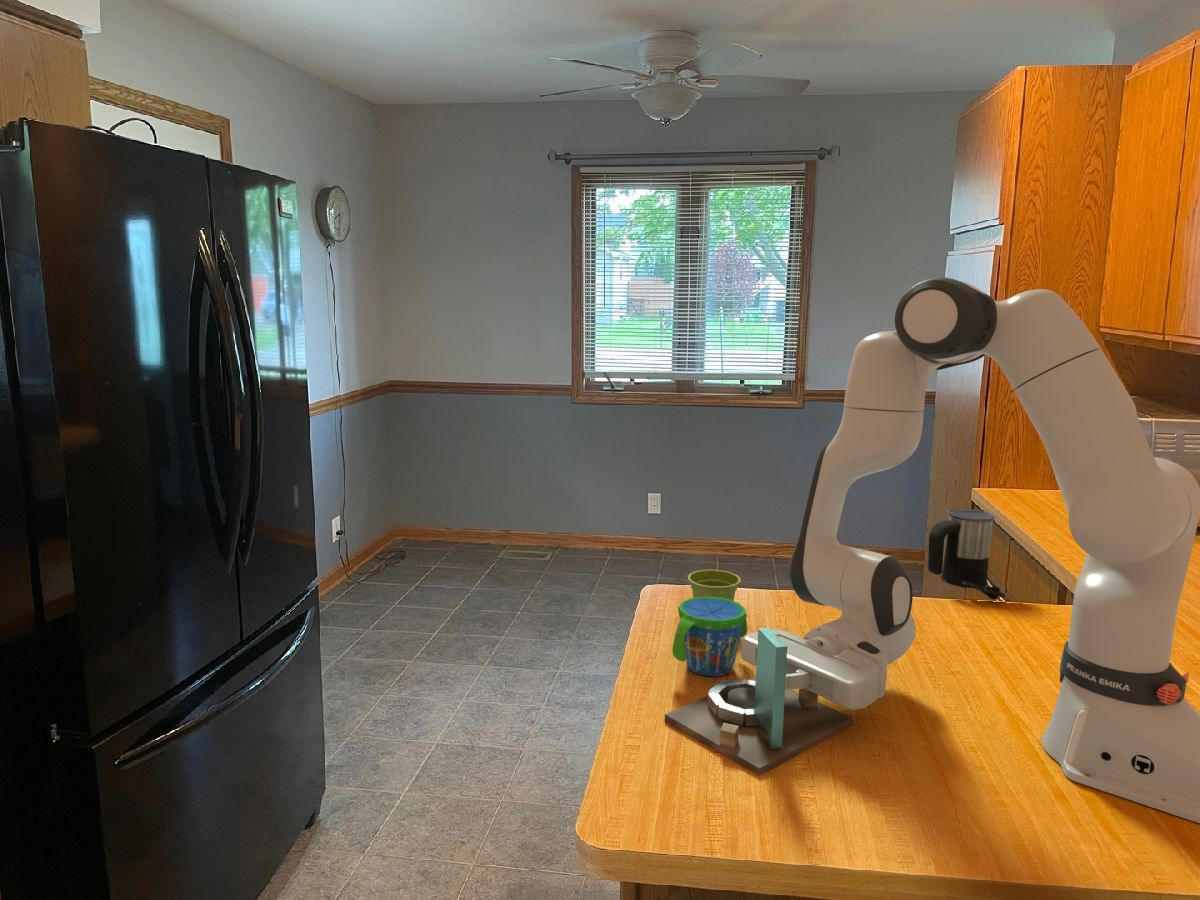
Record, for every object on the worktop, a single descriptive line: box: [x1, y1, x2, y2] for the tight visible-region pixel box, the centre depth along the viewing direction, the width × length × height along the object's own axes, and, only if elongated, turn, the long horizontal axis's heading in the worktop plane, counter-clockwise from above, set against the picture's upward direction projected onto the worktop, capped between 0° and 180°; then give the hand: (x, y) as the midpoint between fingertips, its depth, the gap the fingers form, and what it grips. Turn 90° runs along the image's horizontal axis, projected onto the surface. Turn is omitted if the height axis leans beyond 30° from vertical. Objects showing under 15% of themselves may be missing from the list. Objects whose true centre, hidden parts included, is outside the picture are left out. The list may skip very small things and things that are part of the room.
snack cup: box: [671, 597, 748, 677], centre depth 132 cm, size 16×10×10 cm
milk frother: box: [927, 508, 1006, 601], centre depth 169 cm, size 14×16×15 cm
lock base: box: [664, 675, 854, 776], centre depth 115 cm, size 17×20×3 cm
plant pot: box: [687, 569, 741, 601], centre depth 150 cm, size 9×9×9 cm
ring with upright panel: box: [707, 627, 788, 749], centre depth 114 cm, size 13×13×14 cm
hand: (769, 681), depth 111 cm, fingers closed
